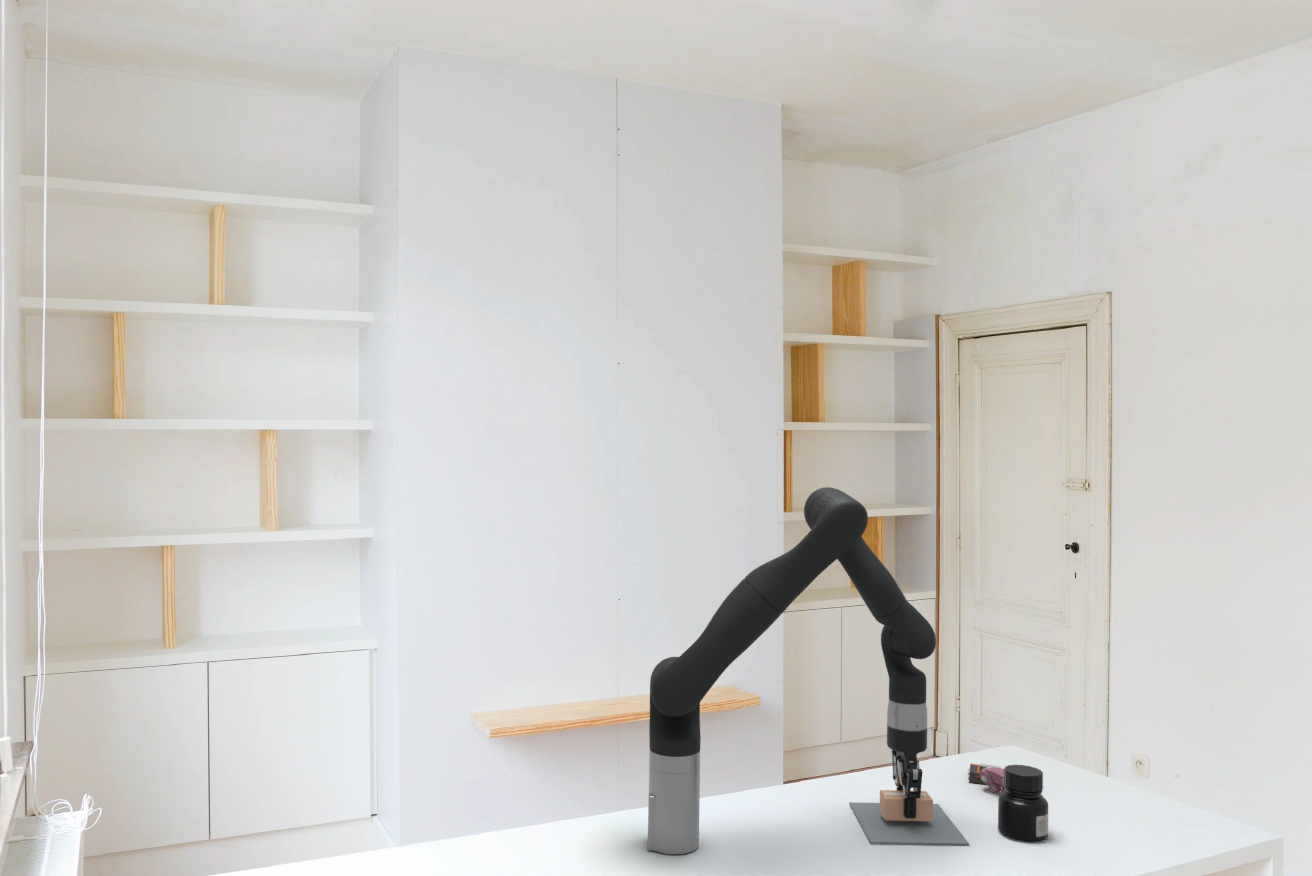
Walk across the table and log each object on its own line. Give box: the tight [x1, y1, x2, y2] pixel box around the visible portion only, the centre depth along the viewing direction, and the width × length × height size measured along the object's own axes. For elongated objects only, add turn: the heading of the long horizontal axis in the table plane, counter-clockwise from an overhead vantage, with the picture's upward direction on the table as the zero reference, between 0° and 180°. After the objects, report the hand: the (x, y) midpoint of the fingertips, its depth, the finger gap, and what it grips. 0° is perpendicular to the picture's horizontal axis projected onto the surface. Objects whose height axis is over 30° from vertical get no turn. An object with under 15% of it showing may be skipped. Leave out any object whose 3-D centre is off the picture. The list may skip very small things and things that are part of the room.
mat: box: [848, 801, 970, 847], centre depth 187 cm, size 18×20×1 cm
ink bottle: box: [997, 764, 1049, 843], centre depth 183 cm, size 10×9×12 cm
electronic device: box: [967, 762, 1004, 787], centre depth 212 cm, size 7×3×15 cm
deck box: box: [879, 789, 934, 821], centre depth 187 cm, size 5×9×4 cm, turn 89°
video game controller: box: [979, 766, 1005, 795], centre depth 204 cm, size 10×5×7 cm, turn 26°
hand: (905, 811), depth 187 cm, fingers closed on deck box, 5 cm apart
